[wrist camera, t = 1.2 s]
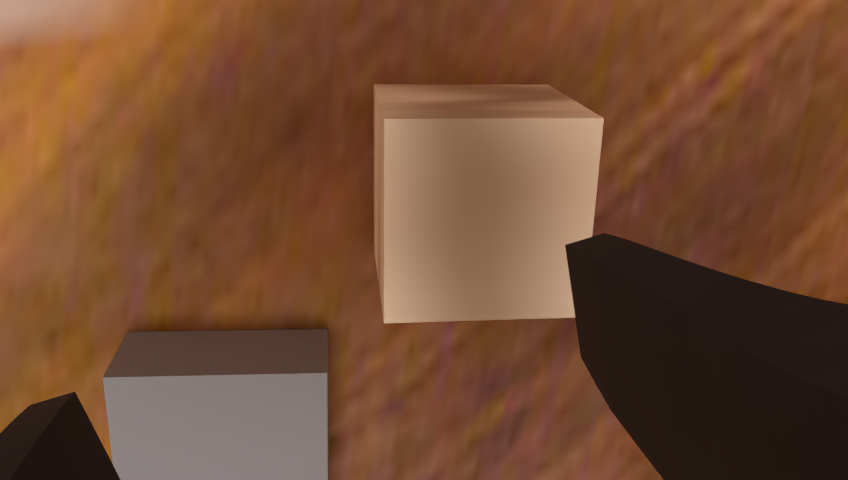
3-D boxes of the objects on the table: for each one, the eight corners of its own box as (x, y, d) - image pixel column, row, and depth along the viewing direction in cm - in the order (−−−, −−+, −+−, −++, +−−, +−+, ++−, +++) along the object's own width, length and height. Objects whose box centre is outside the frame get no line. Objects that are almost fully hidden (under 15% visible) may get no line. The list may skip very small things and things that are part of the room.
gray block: (327, 324, 24) (327, 372, 22) (328, 483, 26) (328, 546, 24) (130, 327, 24) (102, 377, 21) (146, 490, 26) (123, 555, 23)
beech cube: (547, 84, 22) (604, 118, 18) (535, 246, 24) (584, 316, 19) (373, 83, 22) (384, 118, 17) (373, 250, 24) (384, 323, 19)
